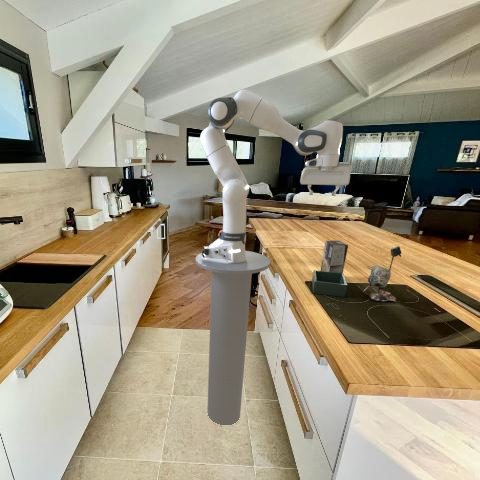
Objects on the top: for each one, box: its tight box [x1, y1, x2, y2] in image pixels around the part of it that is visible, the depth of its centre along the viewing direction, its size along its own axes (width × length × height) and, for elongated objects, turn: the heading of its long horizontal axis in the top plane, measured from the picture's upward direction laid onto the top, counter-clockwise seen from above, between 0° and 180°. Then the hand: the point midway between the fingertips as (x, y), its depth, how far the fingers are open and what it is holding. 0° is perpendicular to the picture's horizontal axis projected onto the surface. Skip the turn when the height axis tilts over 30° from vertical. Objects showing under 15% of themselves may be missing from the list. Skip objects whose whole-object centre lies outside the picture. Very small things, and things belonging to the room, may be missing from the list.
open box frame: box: [311, 269, 348, 298], centre depth 126 cm, size 12×15×5 cm
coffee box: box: [320, 240, 349, 274], centre depth 136 cm, size 9×6×16 cm
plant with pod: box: [362, 245, 402, 302], centre depth 115 cm, size 8×11×20 cm
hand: (321, 195), depth 140 cm, fingers open, 8 cm apart
